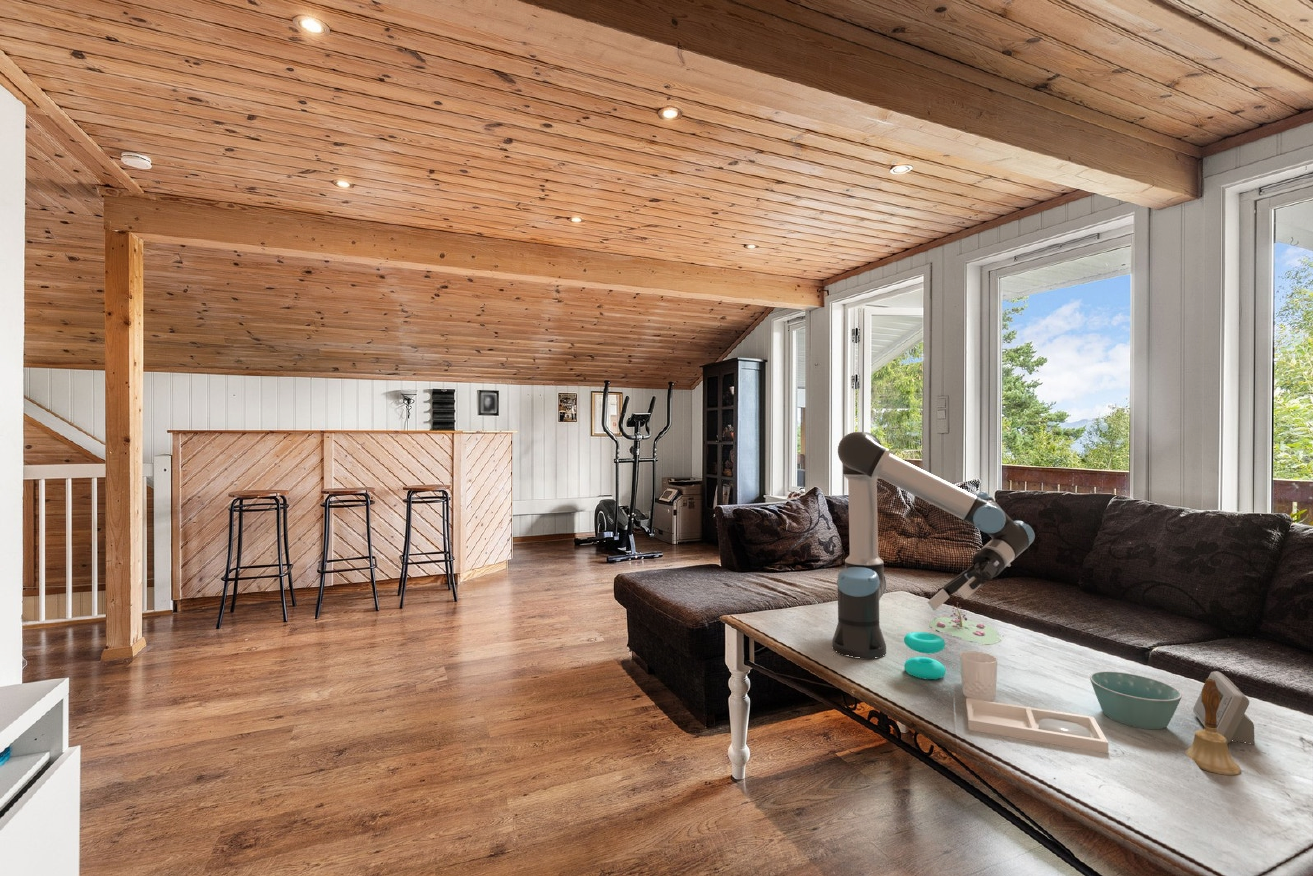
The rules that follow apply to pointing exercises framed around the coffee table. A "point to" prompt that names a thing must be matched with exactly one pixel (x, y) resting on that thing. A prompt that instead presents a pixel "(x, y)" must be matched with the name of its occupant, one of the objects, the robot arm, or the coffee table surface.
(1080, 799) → the coffee table surface
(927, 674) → the donuts
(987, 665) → the white cup
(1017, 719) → the tray
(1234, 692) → the digital clock
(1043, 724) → the grey flat disc
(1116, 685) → the bowl
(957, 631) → the plant
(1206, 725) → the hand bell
